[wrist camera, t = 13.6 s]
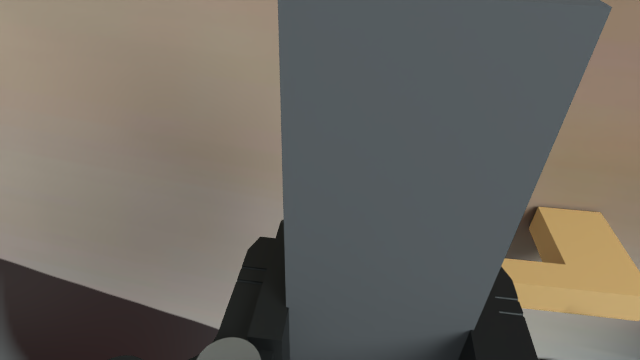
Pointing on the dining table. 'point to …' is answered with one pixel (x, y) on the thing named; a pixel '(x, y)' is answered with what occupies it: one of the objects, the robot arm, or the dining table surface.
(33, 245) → the dining table surface
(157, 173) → the dining table surface
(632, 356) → the dining table surface
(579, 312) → the yellow bent bar
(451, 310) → the dark gray rectangular block
